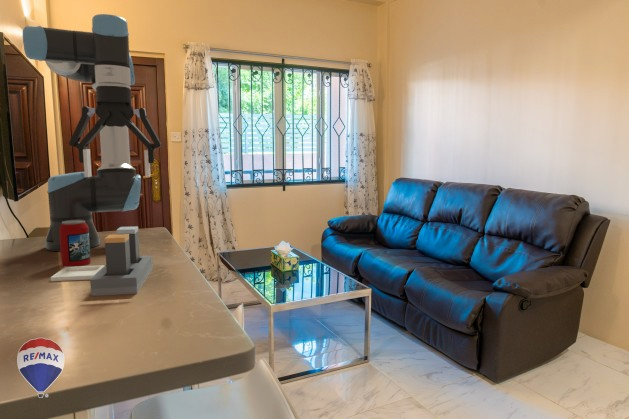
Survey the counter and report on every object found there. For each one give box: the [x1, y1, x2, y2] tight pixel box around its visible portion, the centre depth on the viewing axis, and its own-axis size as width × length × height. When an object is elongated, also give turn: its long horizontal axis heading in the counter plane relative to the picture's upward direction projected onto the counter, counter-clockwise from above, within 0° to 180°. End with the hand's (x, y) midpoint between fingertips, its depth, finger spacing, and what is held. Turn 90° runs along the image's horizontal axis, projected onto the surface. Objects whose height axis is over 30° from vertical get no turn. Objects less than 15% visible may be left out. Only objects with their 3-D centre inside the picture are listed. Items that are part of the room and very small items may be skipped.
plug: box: [104, 234, 131, 276], centre depth 96 cm, size 4×4×10 cm
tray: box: [50, 264, 106, 282], centre depth 106 cm, size 9×9×2 cm
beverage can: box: [59, 220, 91, 268], centre depth 115 cm, size 7×7×12 cm
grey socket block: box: [89, 254, 154, 297], centre depth 101 cm, size 20×9×4 cm, turn 11°
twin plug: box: [116, 226, 141, 263], centre depth 106 cm, size 4×4×10 cm
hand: (118, 176), depth 106 cm, fingers open, 13 cm apart
